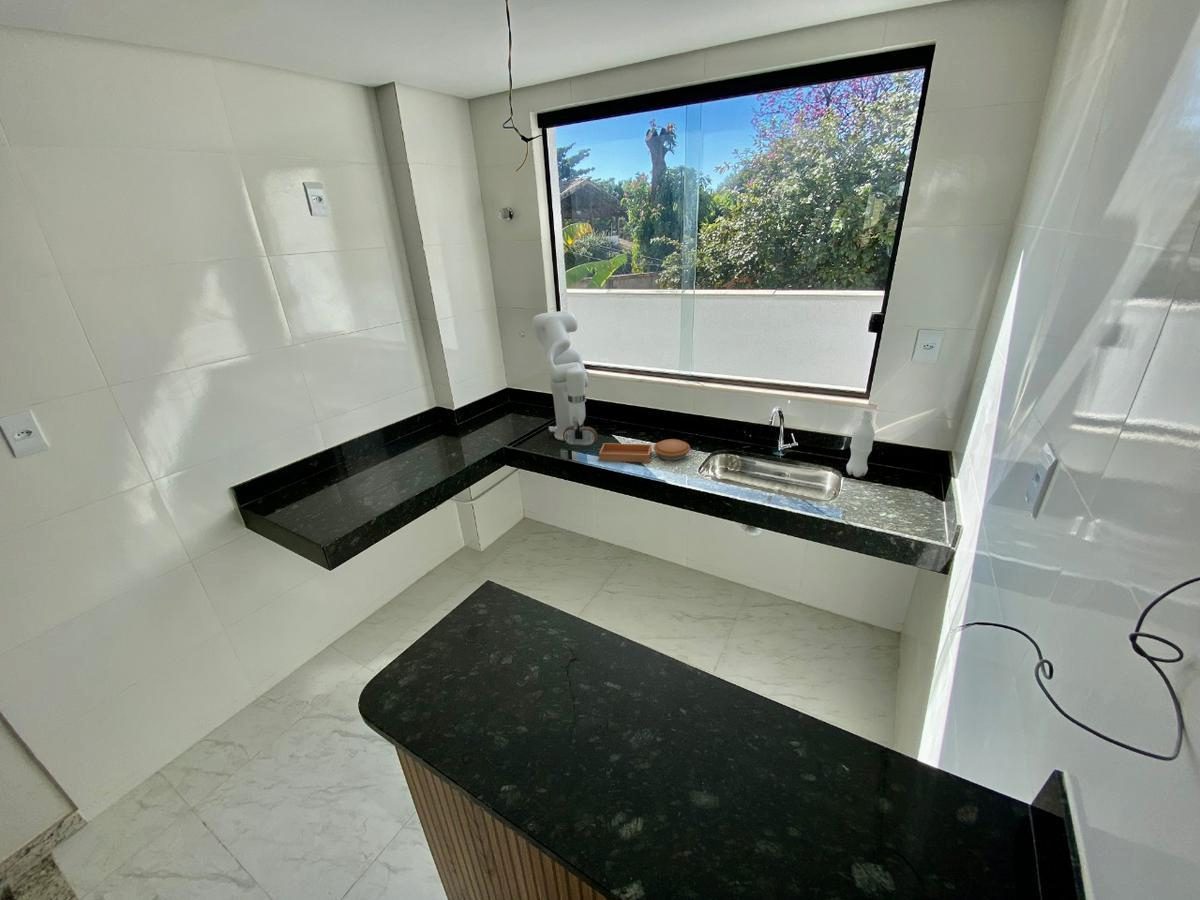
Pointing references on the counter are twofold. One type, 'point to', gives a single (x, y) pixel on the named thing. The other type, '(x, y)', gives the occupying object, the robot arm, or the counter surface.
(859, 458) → the water bottle
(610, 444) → the brown wooden tray
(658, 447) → the pie
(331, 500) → the counter surface
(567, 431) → the tin
